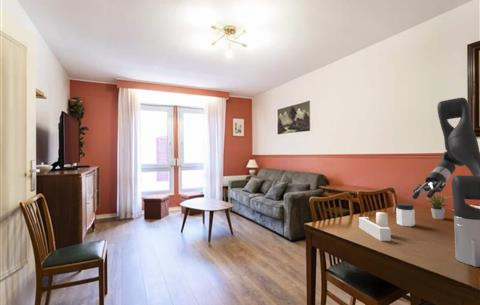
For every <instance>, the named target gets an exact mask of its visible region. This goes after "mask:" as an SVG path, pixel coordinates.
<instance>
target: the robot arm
mask: <svg viewBox="0 0 480 305" xmlns="http://www.w3.org/2000/svg"><path fill="white" fill-rule="evenodd" d="M470 110H471V109H470V105H469V102H468V100H467V99H466V98H465V97H456V98H450V99H446V100H441V101H439V102H438V103H437V115H438V120H439V123H440V128H441V130H442V134H443V138H444V139H443V141H444V148H445V150H446V151H444V152H443V154H442V156H441V159H440V162H439V163H438V165H437V166H436V167H434V169H433V170H432V171H431V172H430V173H429V174H428V175H427V176H426V178H425V183H423V184H421V183H419V184H418V185H417V186H416V187H414V189H413V190H412V192H413V194H412V195H411V197H412V199H413V200H417V199H418V198H419V196H420V195H422V194H426V198H428V199H431V197H432V198H433V196H435V194H436V193H437V194H438V193H441V192H442V191H443V189H444V188H446V185H447V184H446V182H447V181H448V180H449V179H450V177H451V176H452V174H453V173H454V172H455V171H456V168H457V167H463V166H465V167H466V168H467V169H468V170H469V171H470V172H471V174H472V175H461V174H460V175H454V176H452V179H451V191H452V193H451V194H452V200H453V223H454V224H453V225H454V226H453V227H454V228H453V230H454V247H455V248H454V250H455V251H454V252H455V254H454V255H455V260H456V261H458V262H459V263H460V262H461V263H462V264H466V265H469V266H473V267H474V268H475V267H476V268H477V267H478V268H479V267H480V208H479V207H474V206H472V205H469V204H468V203H467V202H466V200H474V201H480V147H479V143H478V139H477V135H476V132H475V130H474V126H473V124H472V116H471V111H470ZM458 118H459V122H458V123H457V125H456V126H455V127H454V126H452V124H451V123H449V120H453V119H458ZM456 166H457V167H456Z"/></svg>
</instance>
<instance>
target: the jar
mask: <svg viewBox="0 0 480 305" xmlns="http://www.w3.org/2000/svg"><path fill="white" fill-rule="evenodd" d="M395 212H396V214H395V216H396V224H397V225H398V226H401V227H411V228H412V227H413V226H415V225H416V220H415V219H416V218H415V216H416V215H415V209H414V204H412V203H409V202H408V203H407V202H398V203H396V209H395Z"/></svg>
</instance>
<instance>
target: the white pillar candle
mask: <svg viewBox="0 0 480 305" xmlns="http://www.w3.org/2000/svg"><path fill="white" fill-rule="evenodd" d="M388 219H389V217H388V212H383V211H377V212H375V222H376V223H375V224H376V225H378V226H380V227H389V223H388V222H389V221H388Z"/></svg>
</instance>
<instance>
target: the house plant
mask: <svg viewBox="0 0 480 305" xmlns="http://www.w3.org/2000/svg"><path fill="white" fill-rule="evenodd" d="M435 194H436V196H435V195H433V196H432V197H431V198H428V197H425V199H426V200H427V202H426V203H430V206H431V207H430V211H431V215H432V218H433V219H435V220H443V219H444V217H445V212H446V209H445V208H443V207H447V206H449V204H448V203H447V202H446V203H444V202H445V201H446V200H447V199H448V198H450V197H452V195H450V196H447V195H445V194H444V195H443V193H441V194H440V195H438V192H437V193H435Z"/></svg>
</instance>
